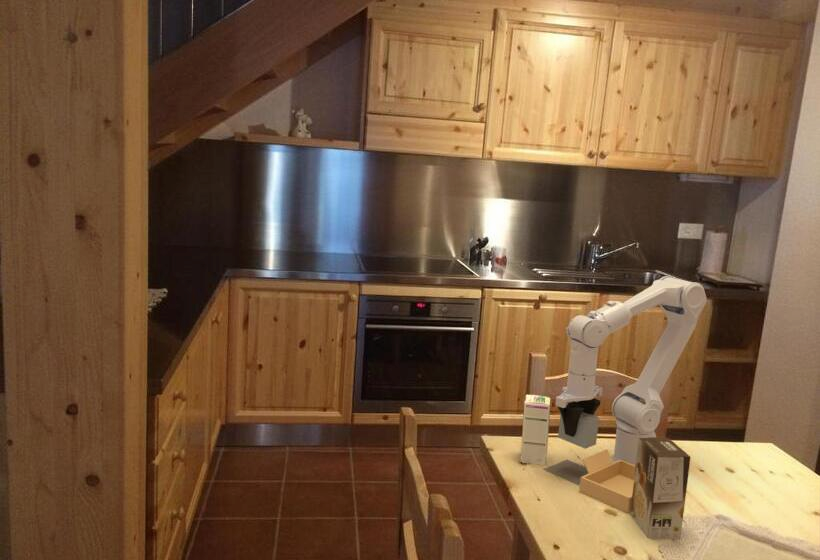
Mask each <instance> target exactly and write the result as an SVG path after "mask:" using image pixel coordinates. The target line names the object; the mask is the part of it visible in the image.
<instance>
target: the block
mask: <svg viewBox="0 0 820 560" xmlns="http://www.w3.org/2000/svg"><path fill="white" fill-rule="evenodd" d="M559 417H560V418H559V423H558V424H559V426H558V435H557V438H558V439H561V440H563V441H566V442H568V443H570V444H572V445H575V446H578V447H580V448H583V449H585V450H586V449H588V448H590V447H593V446H595V445H597V439H598V431H599V421H600V417H598V416H596V415H595V414H594V415H591V414H587V413H584V412H582V413H581V416H580V418H579V421H578V426H577V431H576V434H575V436H574V437H572V436H569V435H566V434H565V430H564V424H563V419H562V415H561V414H560V416H559Z"/></svg>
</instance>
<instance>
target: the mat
mask: <svg viewBox="0 0 820 560" xmlns="http://www.w3.org/2000/svg"><path fill="white" fill-rule="evenodd" d="M542 470H543V471H546V472H548V473H550V474H552V475H555V476H556V477H559V478H561V479H563V480H566V481H568V482H570V483H573V484H575V485H576V486H577V485H579V486H580V479H581V477H582V476H585V475H587V474H589V473H588V471H587V469H586V466H585V465H581V464H579V463H576V462H574V461H572V460H569V459H565V460H563V461H560V462H558V463H555V464H552V465H550V466H548V467H546V468H543V469H542Z"/></svg>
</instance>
